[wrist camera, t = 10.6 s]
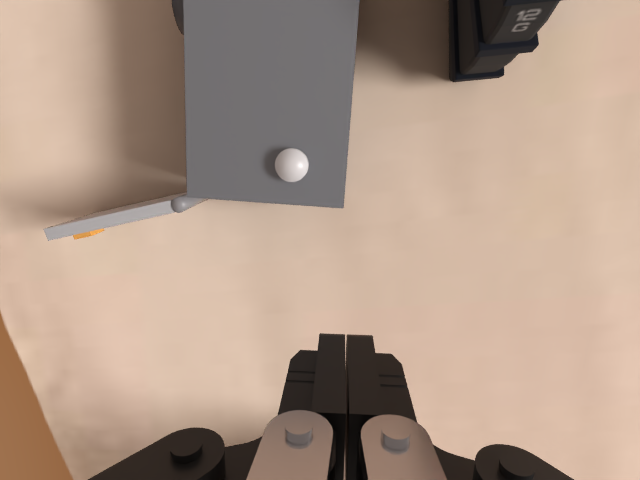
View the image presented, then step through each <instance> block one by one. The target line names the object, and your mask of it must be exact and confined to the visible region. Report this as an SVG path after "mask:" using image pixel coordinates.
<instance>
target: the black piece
mask: <svg viewBox="0 0 640 480" xmlns="http://www.w3.org/2000/svg"><path fill="white" fill-rule="evenodd" d="M559 1H561V0H449V78H450V80H451V81H453V82H460V81H470V80H481V79H491V78H499V77H501V76H503V75H504V66H505V65H507V64H508V63H510V62H511V61H512V60H513V59H514V58H515V57H516V56H517V55H518V54H519V53H528V52H533V50H534V49H535V48H536V47H537V46H538V44H539V43H538V35H537V32H538V31H539V30H540V28H541V27H542V26H543V25H544V24H545V23H546V21H547V20H548V19H549V17H550V15H551V14H552V12H553V11H554V9H555V8H556V6H557V4H558V3H559Z"/></svg>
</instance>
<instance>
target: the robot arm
mask: <svg viewBox="0 0 640 480" xmlns="http://www.w3.org/2000/svg"><path fill="white" fill-rule="evenodd" d="M88 480H574V479H572V478H570V477H569V476H567V475H566V474H564V473H562V472H561V471H559V470H558V469H556V468H554V467H553V466H551V465H550V464H548V463H546V462H545V461H543V460H542V459H540V458H538V457H537V456H535V455H533V454H532V453H530V452H528V451H526V450H523V449H521V448H518V447H514V446H510V445H503V444H495V445H489V446H486V447H484V448H482V449H481V450H480V451H479V452H478V453H477V455H476V458H475V461H474V460H470V459H467V458H464V457H460V456H457V455H454V454H451V453H448V452H446V451H443V450H441V449H439V448H438V447H436V446H434V445H433V444H432V441H431V439H430V437H429V435H428V433H427V431H426V430H425V429H424V428H423V427H422V426H421V425H420V424H418V423H417V420H416V416H415V413H414V409H413V405H412V401H411V398H410V394H409V390H408V388H407V383H406V379H405V375H404V371H403V368H402V364H401V363H400V362H399V361H398V360H397V359H396V358H395V357H394V356H393V355H392V354H383V353H375V348H374V342H373V336H372V335H347V342H346V369H345V334H321V333H320V335H319V344H318V351H311V350H300V351H299V352H298V353H297V354H296V355H295V356H294V357H293V358H292V359H291V360H290V364H289V369H288V373H287V377H286V382H285V386H284V390H283V395H282V399H281V403H280V408H279V412H278V416H276V417H275V418H273V419H272V420H271V421H270V422H269V423H268V425H267V427H266V429H265V431H264V434H263V436H262V437H260V438H258V439H256V440H254V441H251V442H248V443H244V444H239V445H234V446H229V447H224V442H223V439H222V438H221V436H220V435H218V434H217V433H216V432H214V431H212V430H209V429H205V428H187V429H183V430H179V431H176V432H174V433H171V434H169V435H167V436H166V437H164V438H162V439H160V440H158V441H157V442H155V443H153V444H151V445H149V446H148V447H146V448H144V449H142V450H140V451H139V452H137V453H135V454H133V455H131V456H130V457H128V458H126V459H124V460H122V461H121V462H119V463H117V464H115V465H113V466H112V467H110V468H108V469H106V470H104V471H103V472H101V473H99V474H97V475H95V476H94V477H92V478H90V479H88Z"/></svg>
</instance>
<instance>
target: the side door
mask: <svg viewBox="0 0 640 480" xmlns="http://www.w3.org/2000/svg"><path fill="white" fill-rule="evenodd" d="M205 200H207V199H204V198H190V197H187V192H184V193H180V194H175V195H171V196H166V197H162V198H158V199H153V200H149V201H144V202H140V203H136V204H131V205H127V206H123V207H118V208H114V209H109V210H105V211H101V212H96V213H92V214H89V215H86V216H83V217H80V218H77V219H74V220H70V221H67V222H64V223H61V224H58V225H55V226H52V227H48V228H45V229H44V232H45V234H46V237H47V239H48V241H49V240H53V239H58V238H62V237H67V236H71V235H73V237H74V239H79V238H84V237H88V236H92V235H95V234H97V233H100V232H102V231H104V228H107V227H112V226H116V225H121V224H125V223H130V222H134V221H138V220H143V219H147V218H152V217H156V216H161V215H165V214H170V213H174V212H177V213H180V212H183V211H185V210H187V209H189V208H191V207H193V206H195V205H197V204H199V203H201V202H203V201H205Z"/></svg>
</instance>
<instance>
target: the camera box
mask: <svg viewBox="0 0 640 480" xmlns="http://www.w3.org/2000/svg"><path fill="white" fill-rule="evenodd" d="M359 2H360V0H172V7H173V12H174V16H175V20H176V23H177V26H178V28H179V30H180V31H181V33H182V34H183V35H184V63H185V117H186V171H187V197H190V198H204V199H218V200H232V201H247V202H261V203H275V204H289V205H303V206H317V207H331V208H343V207H344V194H345V182H346V169H347V156H348V143H349V130H350V117H351V105H352V92H353V79H354V66H355V53H356V40H357V28H358V15H359Z"/></svg>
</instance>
